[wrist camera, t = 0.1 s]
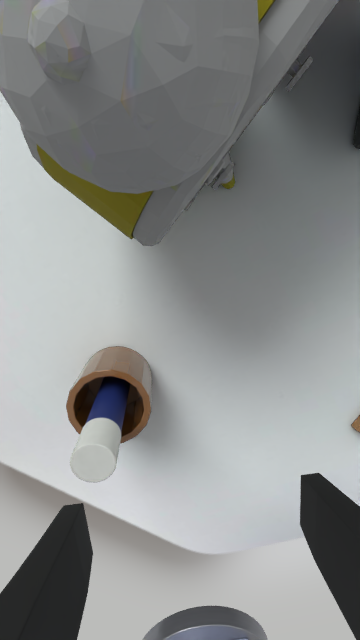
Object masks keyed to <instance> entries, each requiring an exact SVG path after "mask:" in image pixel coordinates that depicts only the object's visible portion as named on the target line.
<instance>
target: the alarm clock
mask: <svg viewBox="0 0 360 640" xmlns="http://www.w3.org/2000/svg"><path fill="white" fill-rule="evenodd" d="M338 1H339V0H0V91H1V93H2V94H3V96H4V98H5V99H6V101H7V102H8V104H9V106H10V107H11V109H12V110H13V112H14V114H15V115H16V117H17V118H18V120H19V122H20V125H21V130H22V132H23V135H24V137H25V140H26V142H27V144H28V147H29V149H30V151H31V154H32V156H33V157H34V158H35V159H36V160H37V161H38V162H39V163H40V165H41V166H42V167H43V168H44V170H45V171H46V172H47V173H48V174H49V175H50V176H51V177H52V178H53V179H54V180H55V181H57V182H58V183H59V184H61V185H62V186H63V187H64V188H66V189H67V190H68V191H70V192H71V193H72V194H73V195H75V196H76V197H77V198H79V199H80V200H81V201H82V202H84V203H85V204H86V205H88V206H89V207H90V208H91V209H93V210H94V211H95V212H97V213H98V214H99V215H101V216H102V217H103V218H104V219H106V220H107V221H108V222H110V223H111V224H112V225H113V226H115V227H116V228H117V229H119V230H120V231H121V232H122V233H124V234H125V235H126V236H128V237H129V238H130V239H133V238H135V239H136V240H137V241H139V242H140V243H141V244H142V245H145V246H153V245H155V244H158V243H159V242H160V241H161V239H162V238H163V237H164V235H165V234H166V233H167V231H168V230H169V229H170V227H171V226H172V225H173V223H174V222H175V221H176V219H177V218H178V217H179V215H180V214H181V213H182V211H183V210H187V209H188V208H189V206H190V205H191V204H192V202H193V201H194V199H195V197H196V195H197V194H198V193H199V191H200V190H201V188H202V187H203V186H204V184H205V185H209V184H210V183H211V182H212V180H213V179H214V178H215V179H216V181H215V183H214V184H213V186H212V188H213V189H214V190H216V189H217V188H218V186H219V185H220V184H221V185H222V186H223V187H224V188H226V189H230V188H232V187H233V186H234V184H235V179H234V173H233V169H232V168H233V167H234V165H235V164H234V163H233V162H232V161H231V159H230V153H229V151H230V149H231V148H232V147H233V144H234V143H235V142H236V140H238V138H239V137H240V136H241V134H242V133H243V132H244V130H245V129H246V128H247V126H248V125H249V124H250V122H251V121H252V120H253V118H254V117H255V116H256V114H257V113H258V112H259V110H260V109H261V108H262V106H264V105H265V104H266V102H267V101H268V100H269V98H270V97H271V96H272V94H273V93H274V91H275V88H276V87H277V86H278V84H279V83H280V82H281V80H282V79H283V78H284V76H285V75H286V74H287V72H288V73H289V74H290V75H291V76H292V77H293V78H292V79H291V81H290V82H289V83H288V85H287V86H286V90H287V91H288V92H289V91H290V90H291V88H292V87H293V86H294V85H295V84H296V82H297V81H298V80H299V79H300V77H301V76H302V75H303V73H304V72H305V71H306V70H307V68H308V67H309V66H310V64H311V63H312V61H313V59H312V58H311V57H310V56H309V57H308V59H307V60H306V61H305V62H304V64H303V65H301V64H300V63H299V61H298V60H297V59H298V57H299V56H300V55H301V53H302V52H303V51H304V49H305V48H306V47H307V45H306V44H307V43H308V42H309V40H310V39H311V38H312V36H313V35H314V34H315V32H316V31H317V30H318V28H319V27H320V25H321V24H322V23H323V21H324V20H325V19H326V17H327V16H328V15H329V13H330V12H331V11H332V9H333V8H334V7H335V5H336V4H337V2H338Z"/></svg>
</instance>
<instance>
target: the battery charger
mask: <svg viewBox="0 0 360 640" xmlns="http://www.w3.org/2000/svg"><path fill="white" fill-rule="evenodd" d="M353 145H354V147H355V148H358V149H360V109H359V114H358V120H357V125H356V130H355V136H354V142H353Z"/></svg>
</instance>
